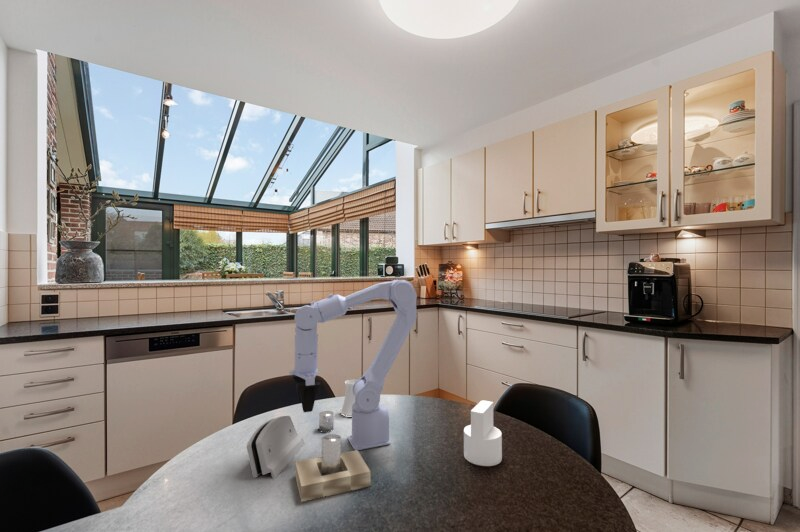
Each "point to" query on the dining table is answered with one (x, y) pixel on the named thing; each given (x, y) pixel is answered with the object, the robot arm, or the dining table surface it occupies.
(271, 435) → the white slotted housing
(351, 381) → the vase
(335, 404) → the dining table surface
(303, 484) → the hole plate
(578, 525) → the dining table surface
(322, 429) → the short pin
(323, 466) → the tall pin
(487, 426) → the base with upright slab
